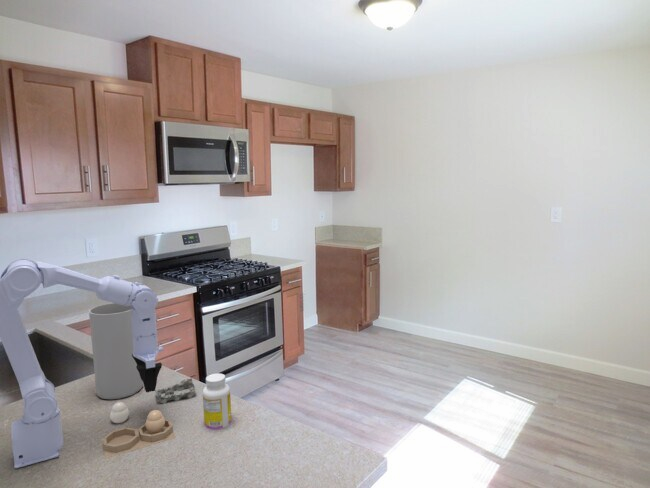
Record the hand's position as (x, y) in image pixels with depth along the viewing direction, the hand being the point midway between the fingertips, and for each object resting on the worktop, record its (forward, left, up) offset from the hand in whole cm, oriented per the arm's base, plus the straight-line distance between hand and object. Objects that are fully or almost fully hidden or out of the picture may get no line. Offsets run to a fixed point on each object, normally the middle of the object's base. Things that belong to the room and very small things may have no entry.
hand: (148, 385), depth 112 cm
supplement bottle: (+14, -12, -10) cm, 21 cm away
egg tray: (-4, -9, -10) cm, 13 cm away
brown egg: (0, -9, -9) cm, 12 cm away
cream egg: (-7, +2, -10) cm, 12 cm away
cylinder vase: (-5, +22, -10) cm, 25 cm away
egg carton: (+8, +8, -10) cm, 15 cm away
